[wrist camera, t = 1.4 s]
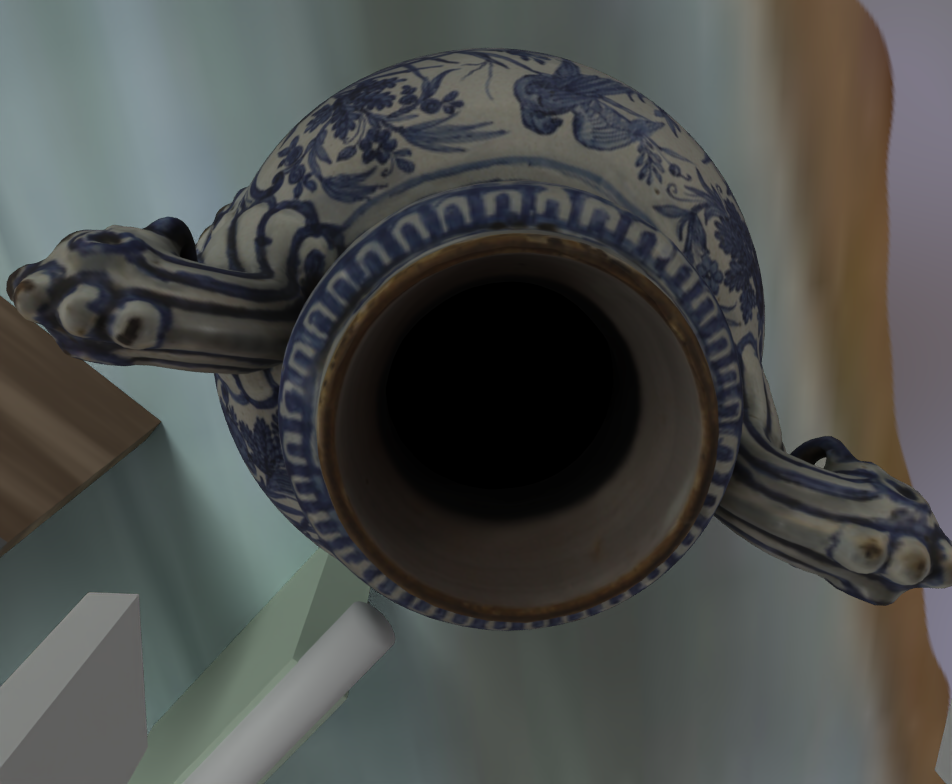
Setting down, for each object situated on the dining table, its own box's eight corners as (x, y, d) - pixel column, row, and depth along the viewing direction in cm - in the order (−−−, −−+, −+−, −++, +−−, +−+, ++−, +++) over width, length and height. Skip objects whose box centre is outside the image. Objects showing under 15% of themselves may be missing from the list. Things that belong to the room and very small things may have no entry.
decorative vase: (239, 392, 43) (-126, 727, 15) (324, 48, 39) (33, -321, 11) (600, 494, 45) (838, 942, 18) (716, 179, 41) (1254, 134, 14)
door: (171, 796, 49) (62, 1029, 36) (119, 761, 49) (-12, 986, 35) (427, 528, 45) (416, 675, 31) (376, 486, 44) (341, 618, 31)
